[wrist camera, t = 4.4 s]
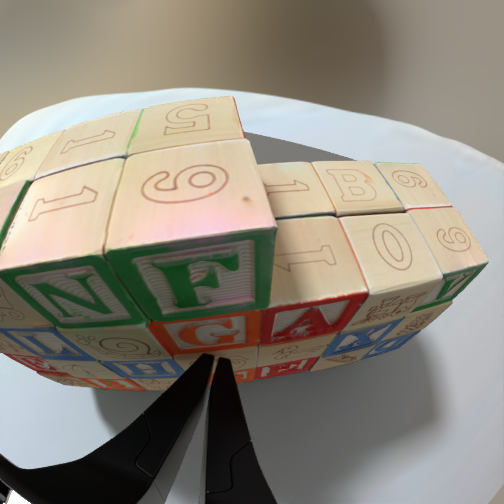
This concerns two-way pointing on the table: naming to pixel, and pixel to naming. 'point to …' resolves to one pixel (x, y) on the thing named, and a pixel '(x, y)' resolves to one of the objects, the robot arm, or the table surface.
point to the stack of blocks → (213, 252)
